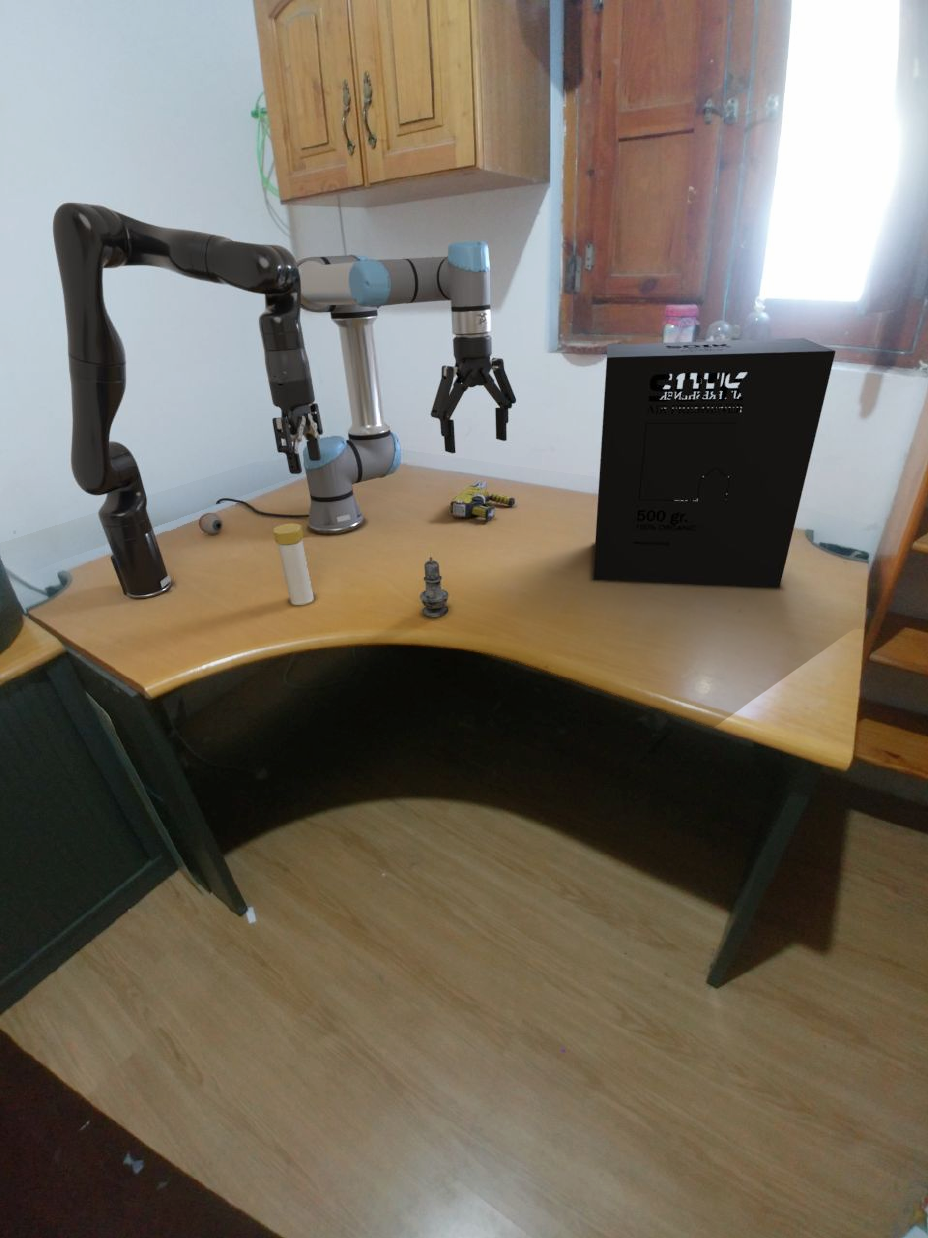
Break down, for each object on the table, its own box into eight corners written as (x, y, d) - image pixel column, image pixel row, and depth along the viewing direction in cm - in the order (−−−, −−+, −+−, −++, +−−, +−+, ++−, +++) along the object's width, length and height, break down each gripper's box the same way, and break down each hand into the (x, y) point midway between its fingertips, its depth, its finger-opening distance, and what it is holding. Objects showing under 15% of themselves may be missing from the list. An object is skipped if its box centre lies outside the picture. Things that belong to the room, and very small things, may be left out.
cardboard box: (759, 548, 141) (803, 338, 119) (779, 587, 124) (835, 350, 102) (595, 543, 149) (607, 344, 126) (593, 579, 132) (607, 357, 109)
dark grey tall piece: (446, 618, 120) (442, 563, 114) (417, 616, 122) (412, 562, 116) (452, 604, 125) (448, 551, 119) (425, 602, 126) (420, 550, 120)
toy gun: (523, 485, 181) (476, 478, 185) (501, 509, 161) (448, 500, 165) (521, 500, 184) (475, 493, 187) (499, 525, 163) (447, 517, 167)
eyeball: (212, 539, 164) (206, 518, 161) (197, 535, 167) (191, 515, 164) (230, 531, 169) (224, 511, 166) (215, 528, 172) (210, 508, 169)
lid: (290, 532, 127) (288, 521, 126) (309, 537, 125) (307, 526, 123) (269, 541, 123) (266, 530, 122) (288, 546, 121) (286, 535, 119)
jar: (302, 592, 134) (288, 524, 126) (318, 597, 132) (304, 528, 124) (285, 601, 131) (270, 532, 123) (301, 607, 128) (286, 536, 120)
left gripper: (288, 370, 114) (304, 456, 122) (250, 383, 102) (270, 477, 110) (325, 369, 112) (338, 456, 120) (290, 382, 100) (308, 478, 108)
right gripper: (429, 342, 108) (437, 460, 118) (533, 329, 120) (532, 437, 131) (407, 340, 113) (417, 454, 124) (508, 328, 125) (510, 432, 136)
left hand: (306, 466), depth 115 cm, fingers open, 8 cm apart
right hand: (476, 445), depth 127 cm, fingers open, 13 cm apart
